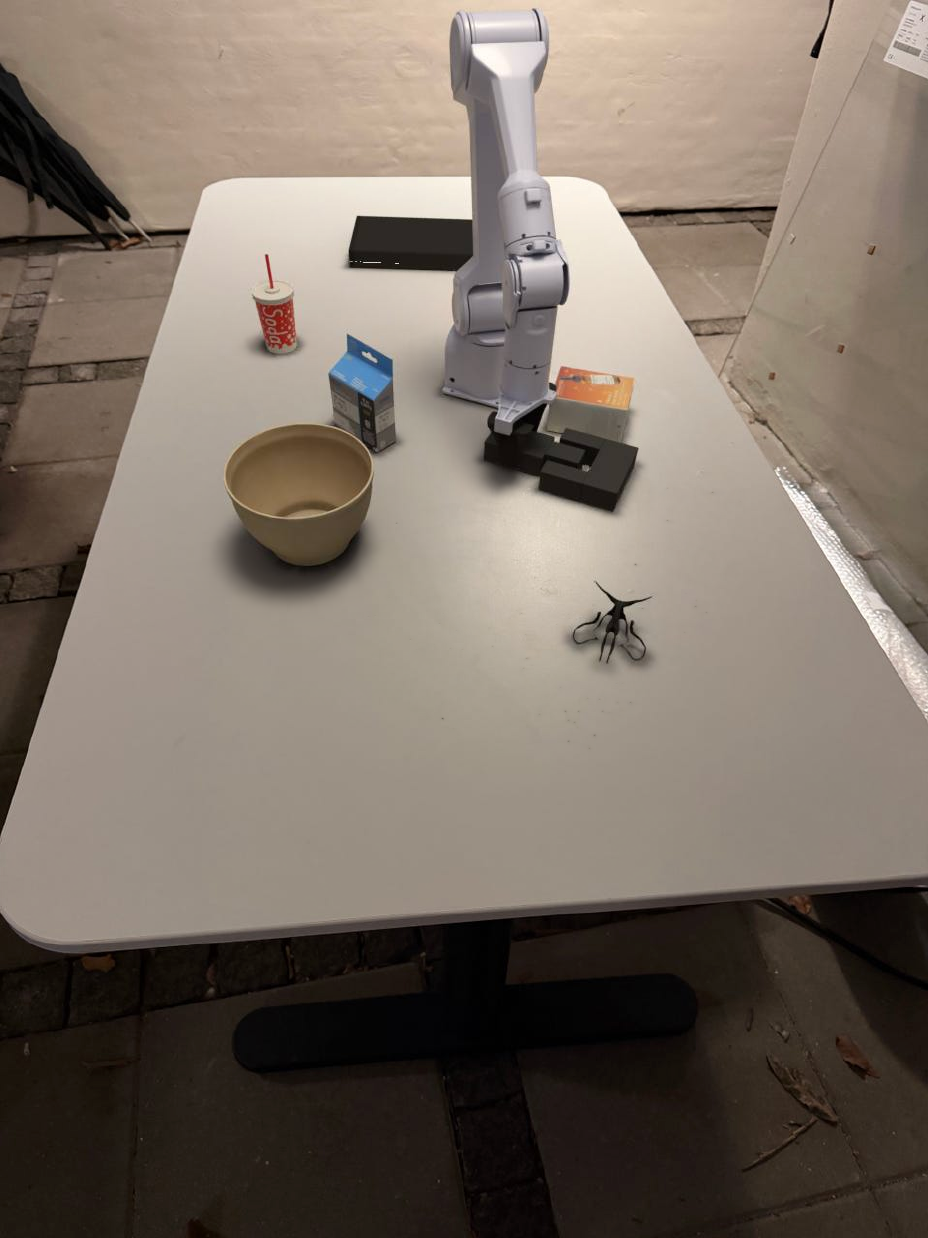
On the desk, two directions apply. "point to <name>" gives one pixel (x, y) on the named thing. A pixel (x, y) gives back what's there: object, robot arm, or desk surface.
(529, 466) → the pad
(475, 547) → the desk surface
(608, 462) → the notch pad
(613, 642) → the creature
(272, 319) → the beverage cup
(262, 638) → the desk surface
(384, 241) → the black electronic device box
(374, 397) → the ink cartridge box
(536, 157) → the robot arm
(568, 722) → the desk surface
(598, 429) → the small box
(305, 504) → the planter bowl
